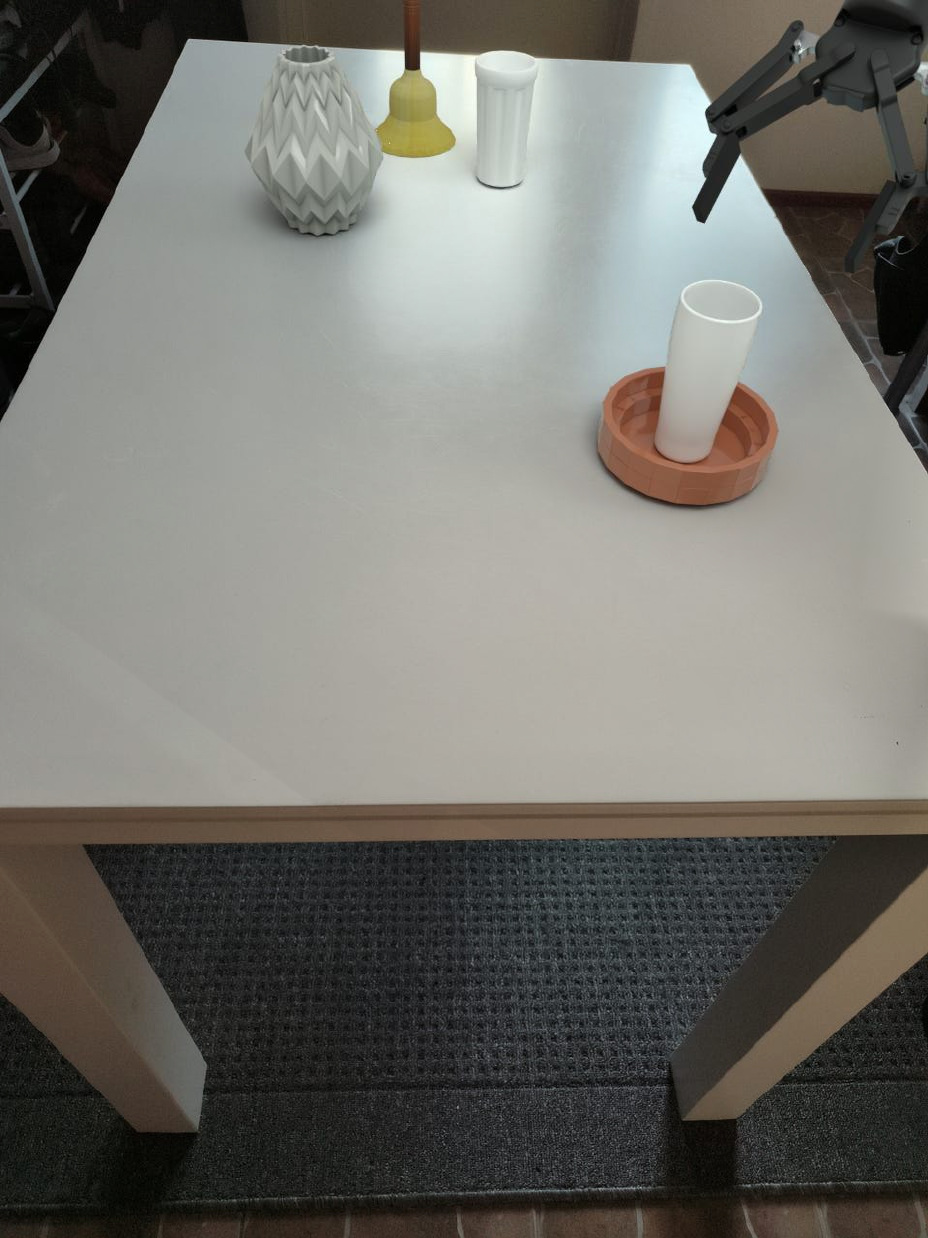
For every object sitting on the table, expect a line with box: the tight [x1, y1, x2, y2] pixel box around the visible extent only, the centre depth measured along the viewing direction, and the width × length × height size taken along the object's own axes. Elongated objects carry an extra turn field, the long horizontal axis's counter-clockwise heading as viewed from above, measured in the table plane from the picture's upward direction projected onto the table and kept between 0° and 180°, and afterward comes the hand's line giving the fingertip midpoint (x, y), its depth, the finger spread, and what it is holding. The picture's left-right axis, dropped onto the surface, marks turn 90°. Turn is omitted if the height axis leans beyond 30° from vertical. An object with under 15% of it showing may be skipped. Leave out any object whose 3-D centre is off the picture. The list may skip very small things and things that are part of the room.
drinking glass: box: [654, 279, 763, 463], centre depth 77 cm, size 7×7×15 cm
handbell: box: [374, 0, 457, 158], centre depth 119 cm, size 12×12×25 cm
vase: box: [244, 44, 384, 237], centre depth 105 cm, size 16×16×18 cm
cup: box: [474, 50, 540, 188], centre depth 115 cm, size 8×8×14 cm
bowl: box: [597, 365, 779, 506], centre depth 82 cm, size 16×16×4 cm
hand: (770, 240), depth 74 cm, fingers open, 13 cm apart
